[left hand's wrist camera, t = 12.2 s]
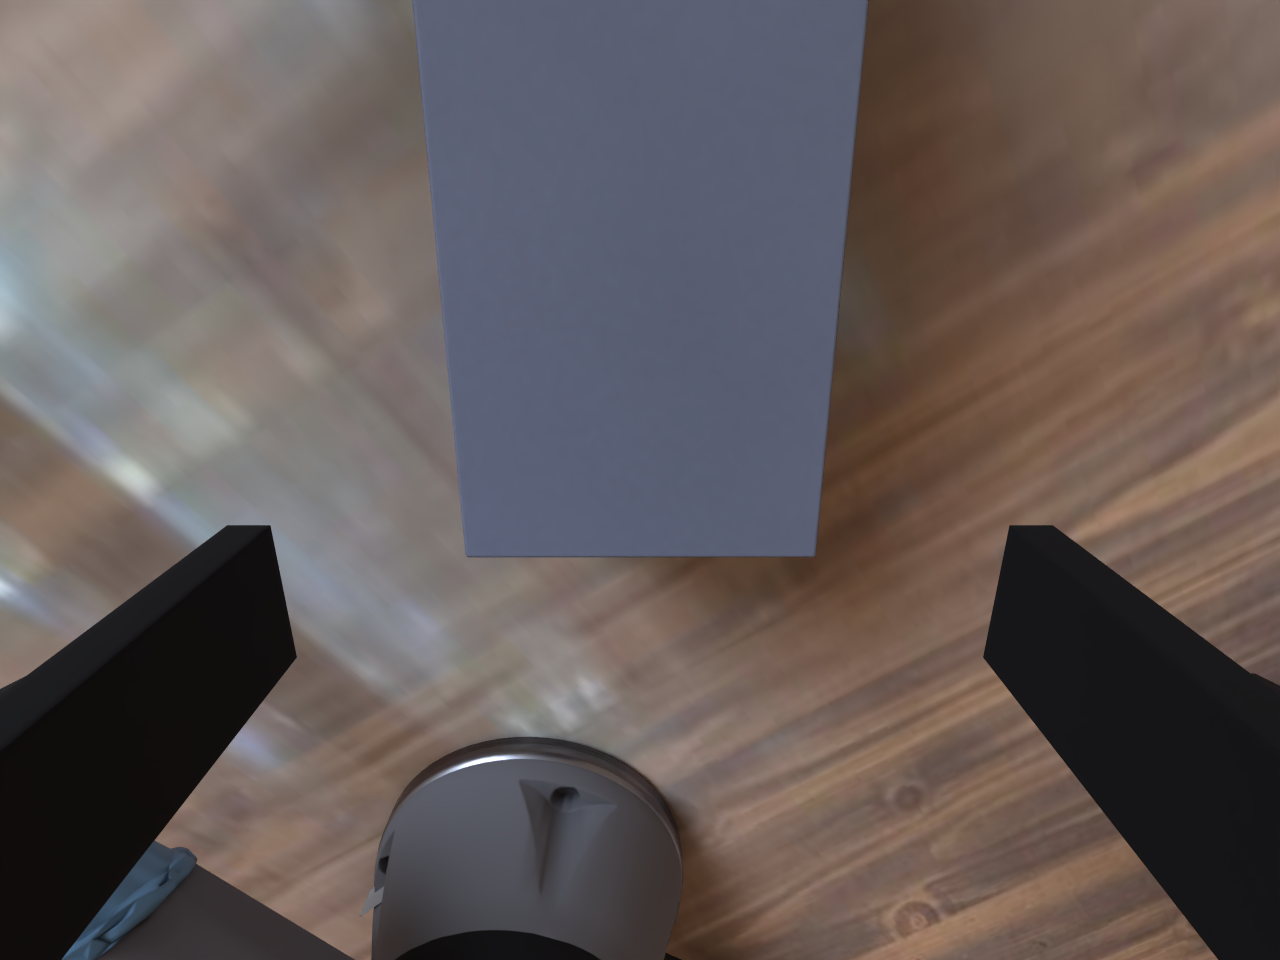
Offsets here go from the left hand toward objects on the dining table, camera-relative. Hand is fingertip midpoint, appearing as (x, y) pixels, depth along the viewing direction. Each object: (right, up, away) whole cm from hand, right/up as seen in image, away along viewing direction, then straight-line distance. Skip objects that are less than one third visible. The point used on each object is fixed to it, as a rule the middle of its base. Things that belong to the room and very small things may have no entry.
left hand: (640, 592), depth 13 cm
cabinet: (0, +13, +13) cm, 18 cm away
